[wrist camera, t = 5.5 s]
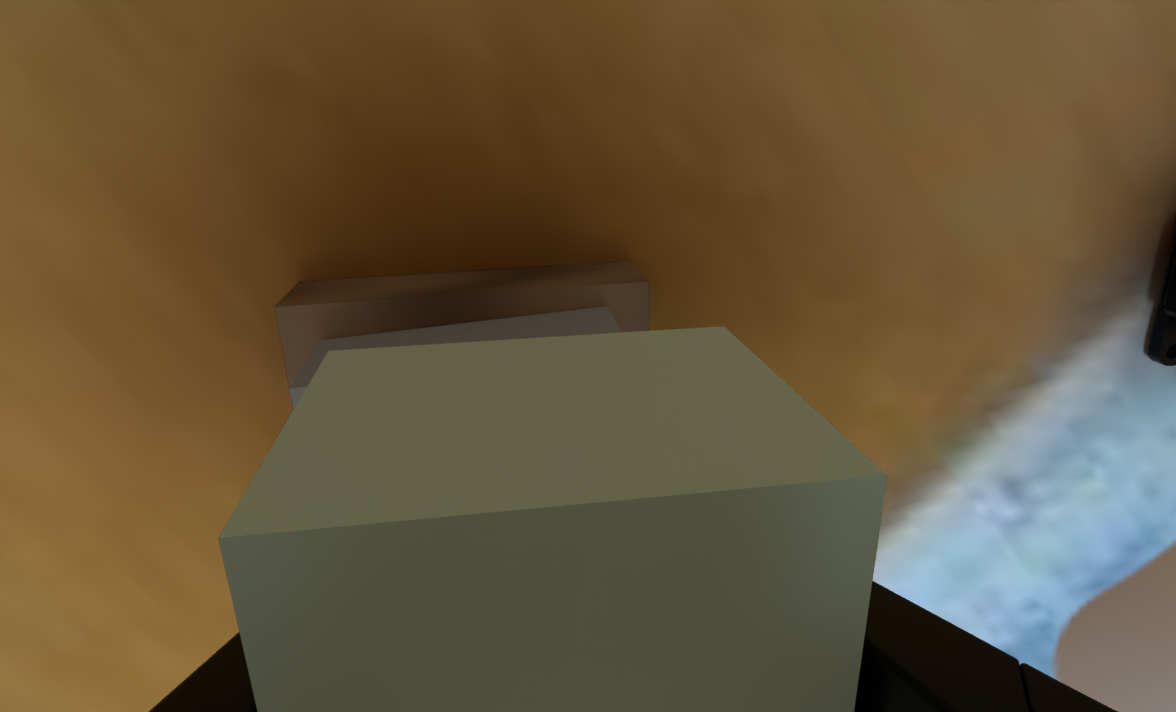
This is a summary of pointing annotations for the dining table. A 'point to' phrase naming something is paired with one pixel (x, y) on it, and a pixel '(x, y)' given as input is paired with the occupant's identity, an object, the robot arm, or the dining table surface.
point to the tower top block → (465, 336)
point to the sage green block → (555, 534)
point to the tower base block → (453, 301)
